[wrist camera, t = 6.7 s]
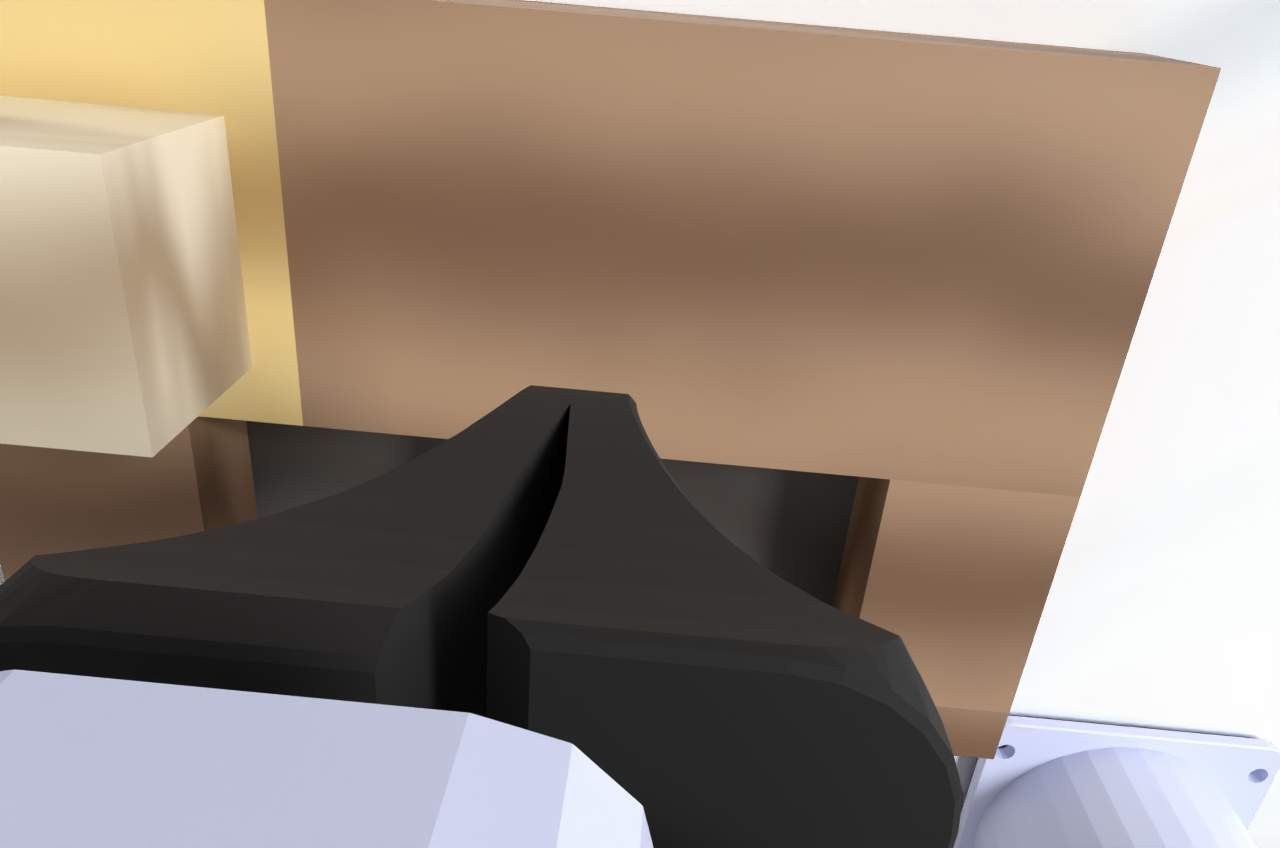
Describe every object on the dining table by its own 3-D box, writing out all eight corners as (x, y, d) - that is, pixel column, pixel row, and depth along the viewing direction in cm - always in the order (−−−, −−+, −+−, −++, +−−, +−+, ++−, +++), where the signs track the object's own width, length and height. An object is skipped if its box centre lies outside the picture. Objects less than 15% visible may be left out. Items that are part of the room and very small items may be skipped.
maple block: (253, 366, 19) (152, 457, 16) (13, 344, 19) (-141, 430, 16) (224, 115, 17) (99, 155, 14) (-46, 91, 17) (-240, 124, 14)
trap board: (962, 676, 26) (993, 759, 23) (97, 595, 26) (28, 667, 23) (1145, 53, 19) (1220, 68, 16) (-43, -48, 19) (-165, -51, 16)
